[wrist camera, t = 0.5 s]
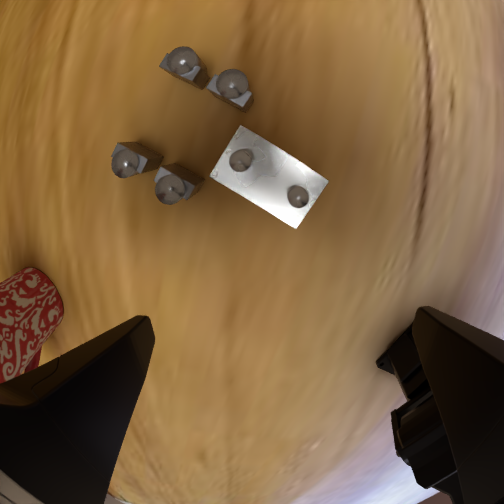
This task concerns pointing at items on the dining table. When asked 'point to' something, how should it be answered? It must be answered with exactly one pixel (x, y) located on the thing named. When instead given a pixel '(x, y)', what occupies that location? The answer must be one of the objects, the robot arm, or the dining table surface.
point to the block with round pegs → (268, 177)
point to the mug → (26, 320)
